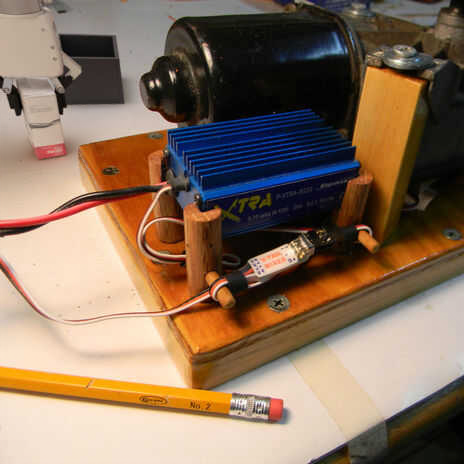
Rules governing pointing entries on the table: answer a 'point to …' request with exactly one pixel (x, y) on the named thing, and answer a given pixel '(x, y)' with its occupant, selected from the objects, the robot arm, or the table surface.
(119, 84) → the dark grey open bin
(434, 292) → the table surface
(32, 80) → the ink box
